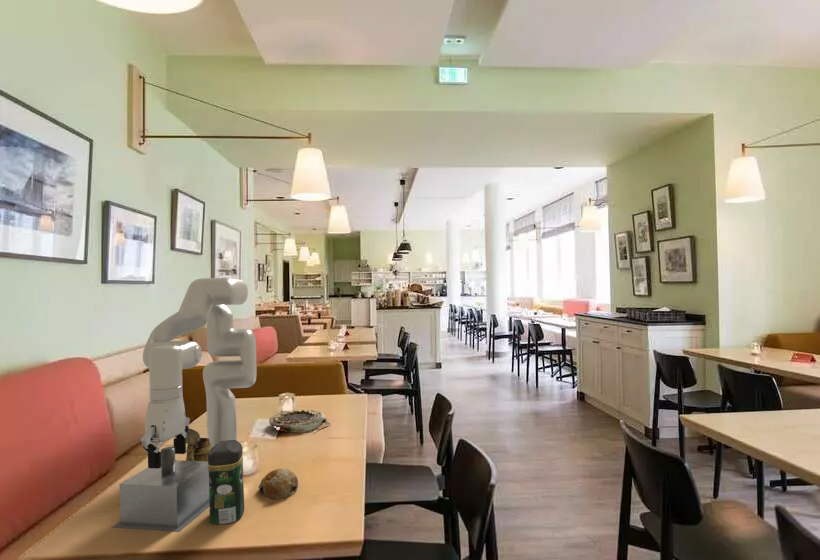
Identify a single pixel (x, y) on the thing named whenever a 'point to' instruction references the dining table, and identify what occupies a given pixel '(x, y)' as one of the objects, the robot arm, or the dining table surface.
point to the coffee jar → (226, 482)
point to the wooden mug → (197, 447)
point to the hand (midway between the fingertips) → (167, 460)
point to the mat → (163, 527)
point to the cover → (165, 493)
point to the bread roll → (279, 484)
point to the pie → (298, 420)
